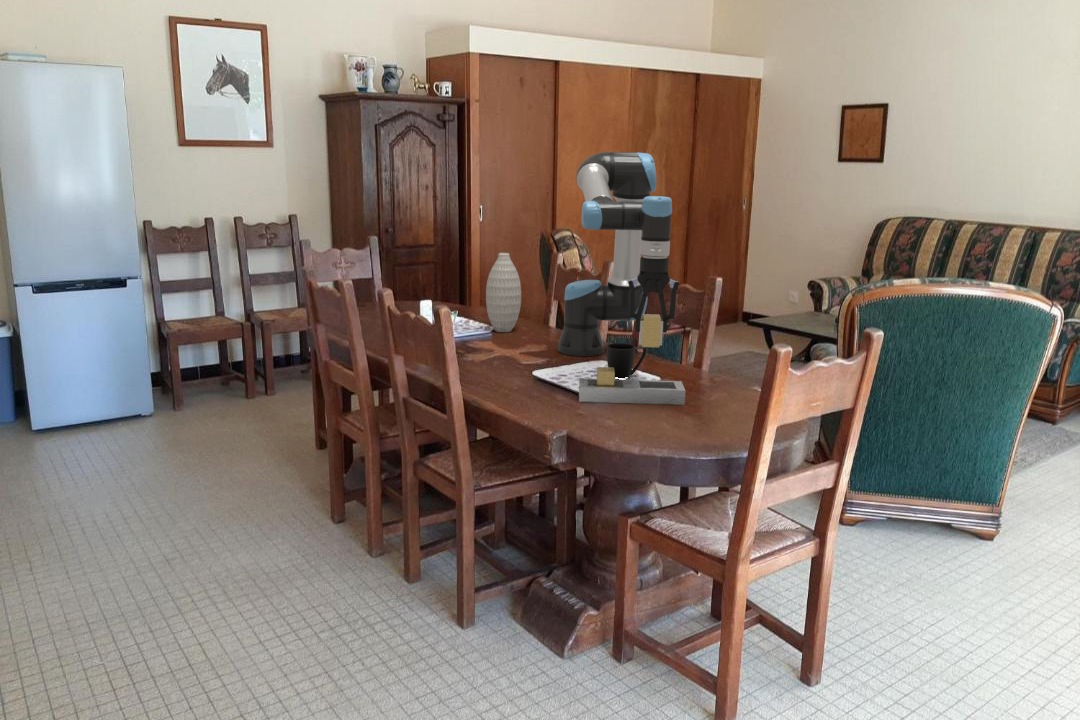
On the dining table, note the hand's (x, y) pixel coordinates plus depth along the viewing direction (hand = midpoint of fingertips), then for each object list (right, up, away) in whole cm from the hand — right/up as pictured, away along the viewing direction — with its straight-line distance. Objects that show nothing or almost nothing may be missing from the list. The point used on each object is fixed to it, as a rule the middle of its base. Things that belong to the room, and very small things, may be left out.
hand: (650, 343), depth 229 cm
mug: (-4, -10, +25) cm, 27 cm away
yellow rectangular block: (0, 0, 0) cm, 0 cm away
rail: (-5, -15, +3) cm, 16 cm away
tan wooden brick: (-12, -15, +4) cm, 19 cm away
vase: (-43, +6, +84) cm, 95 cm away
